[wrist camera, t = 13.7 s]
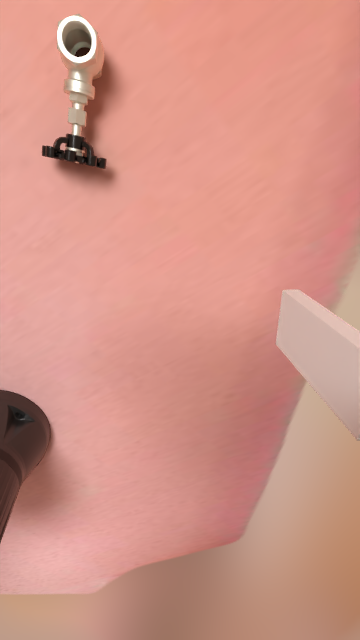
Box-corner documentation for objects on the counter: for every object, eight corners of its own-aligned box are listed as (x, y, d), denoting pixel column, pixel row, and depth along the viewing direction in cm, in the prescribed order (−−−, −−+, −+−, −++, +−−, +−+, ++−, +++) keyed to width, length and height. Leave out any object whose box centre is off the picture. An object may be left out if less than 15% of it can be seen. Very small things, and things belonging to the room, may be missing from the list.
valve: (55, 29, 35) (49, 157, 39) (38, -2, 29) (33, 153, 33) (120, 47, 36) (107, 169, 40) (117, 21, 30) (103, 168, 34)
